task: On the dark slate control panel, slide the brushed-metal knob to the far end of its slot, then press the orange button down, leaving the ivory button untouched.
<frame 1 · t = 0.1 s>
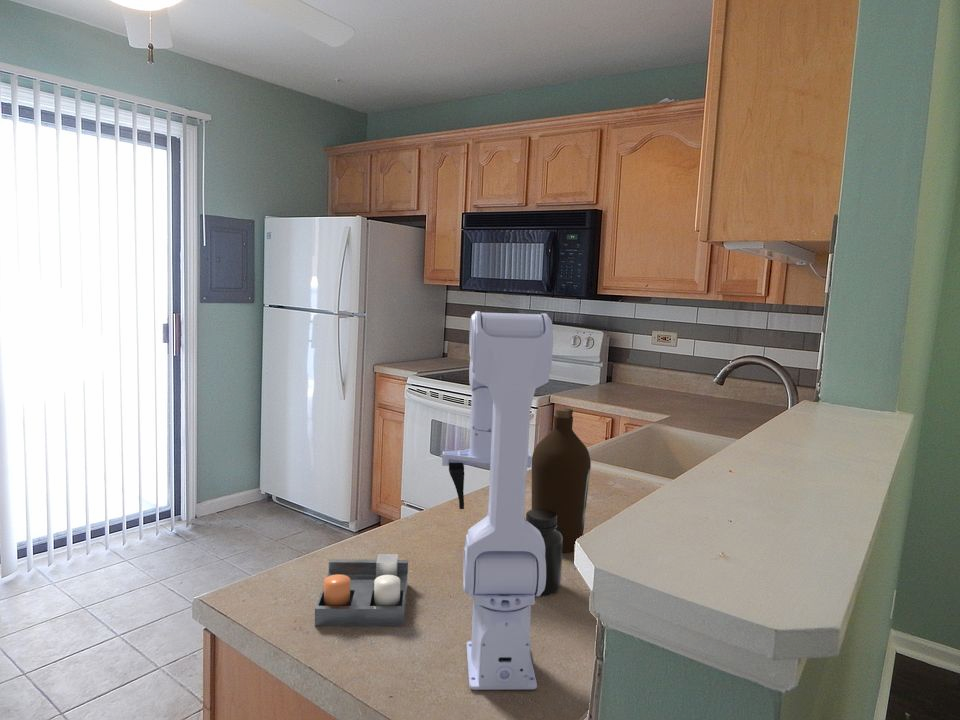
hand: (484, 507, 107), 10 cm above the table, tool pointing down, fingers open, 7 cm apart
panel: (364, 603, 94), on the table
supplement bottle: (538, 588, 102), on the table
ivory button: (387, 590, 91), point 4 cm above the table, slide at 0.0 cm
olive oil: (556, 543, 119), on the table
slider knob: (387, 568, 97), point 4 cm above the table, slide at 0.0 cm
orange button: (337, 590, 91), point 4 cm above the table, slide at 0.0 cm
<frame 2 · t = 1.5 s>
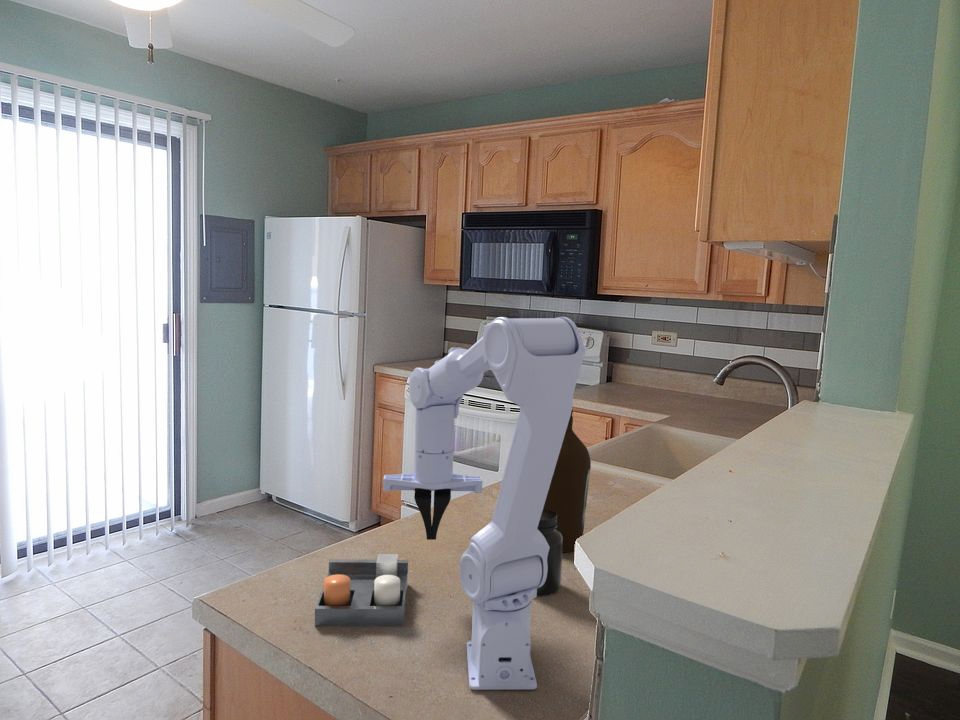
hand: (431, 537, 97), 9 cm above the table, tool pointing down, fingers closed
nothing on the table moved.
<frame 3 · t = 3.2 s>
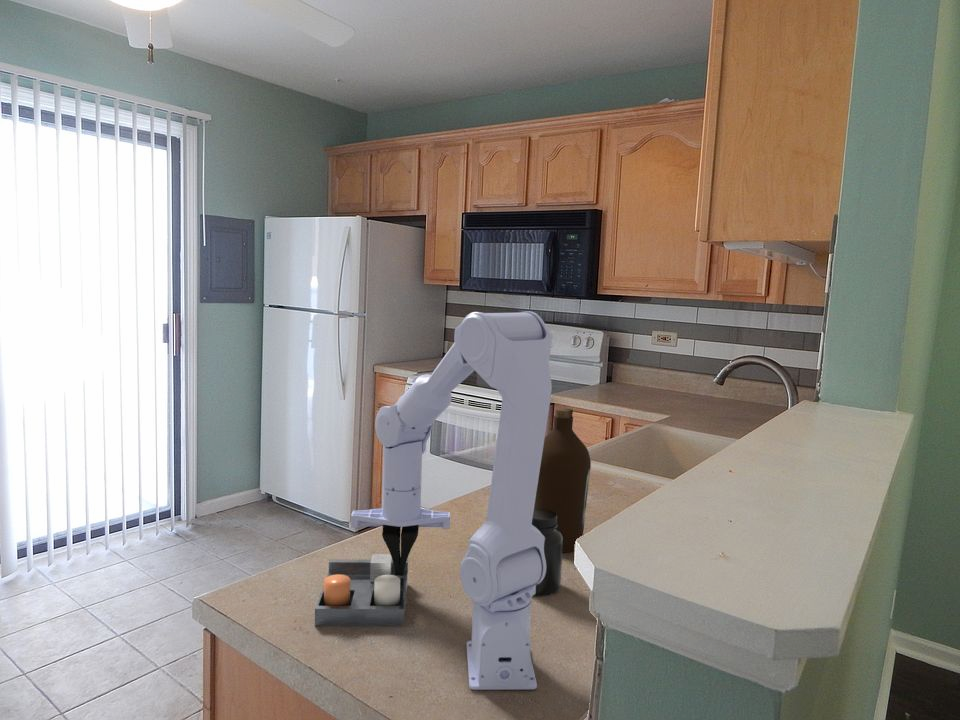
hand: (399, 572, 97), 3 cm above the table, tool pointing down, fingers closed
slider knob: (381, 567, 97), point 4 cm above the table, slide at 0.9 cm, touching gripper
everything else where it was.
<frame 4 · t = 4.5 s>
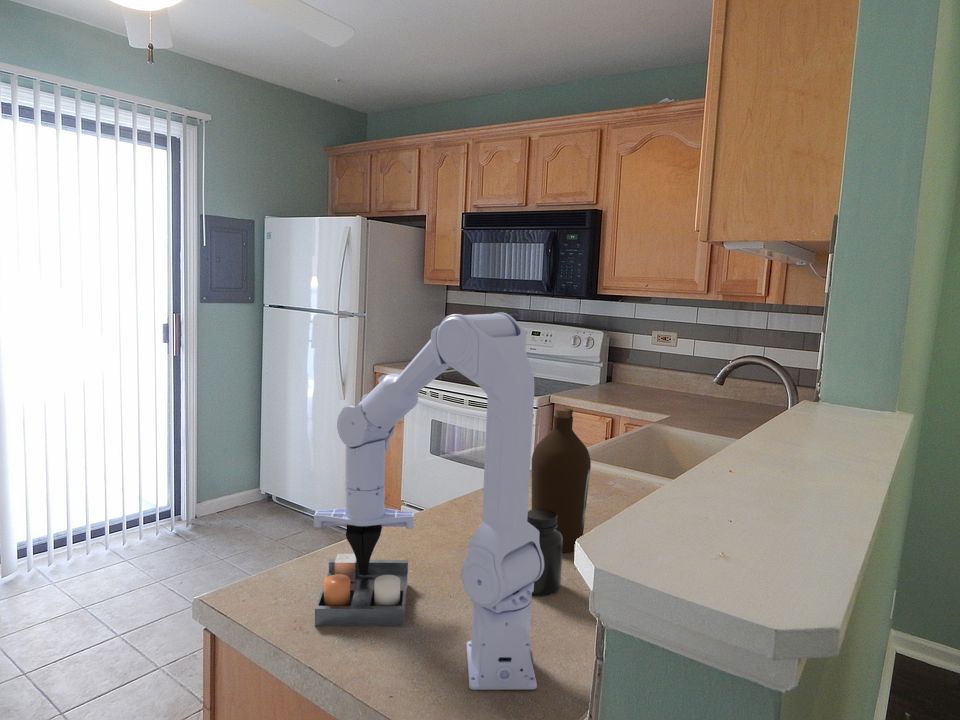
hand: (363, 572, 97), 3 cm above the table, tool pointing down, fingers closed
slider knob: (346, 567, 97), point 4 cm above the table, slide at 6.1 cm, touching gripper
everything else where it was.
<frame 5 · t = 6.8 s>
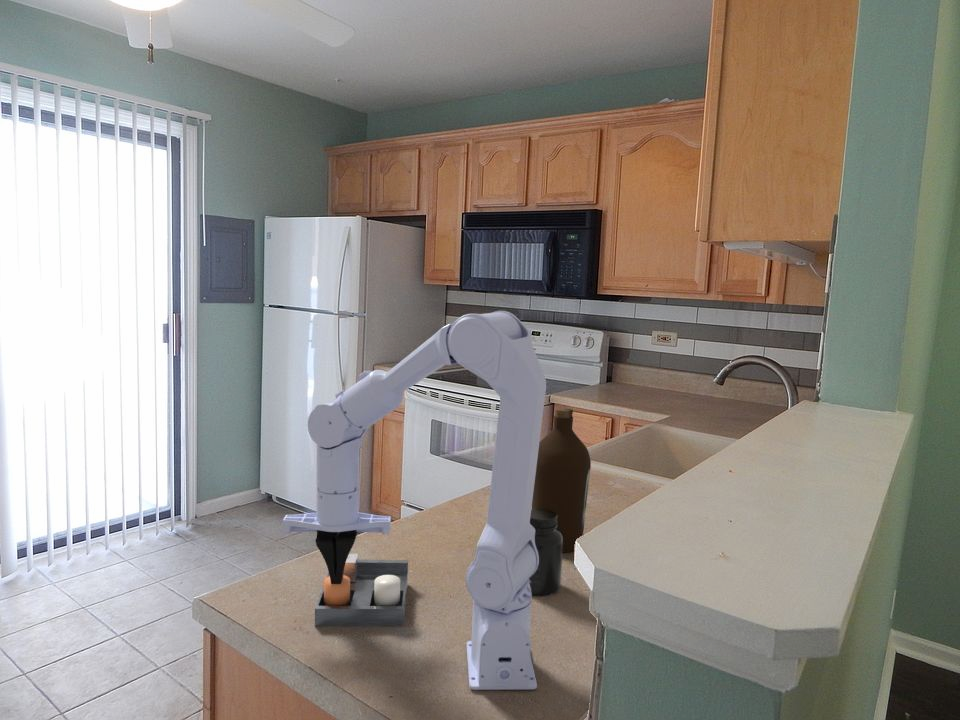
hand: (337, 580, 91), 5 cm above the table, tool pointing down, fingers closed, pressing on orange button
slider knob: (346, 567, 97), point 4 cm above the table, slide at 6.1 cm
orange button: (337, 590, 91), point 4 cm above the table, slide at 0.0 cm, touching gripper
everything else where it was.
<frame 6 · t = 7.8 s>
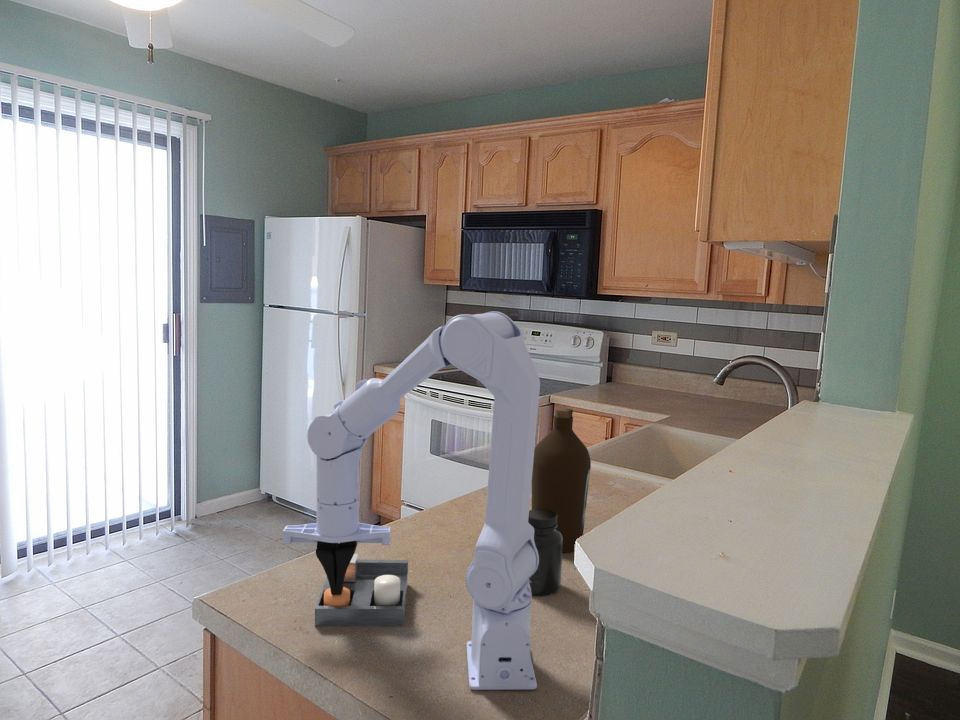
hand: (337, 591, 91), 3 cm above the table, tool pointing down, fingers closed
orange button: (336, 602, 91), point 2 cm above the table, slide at 1.8 cm
everything else where it was.
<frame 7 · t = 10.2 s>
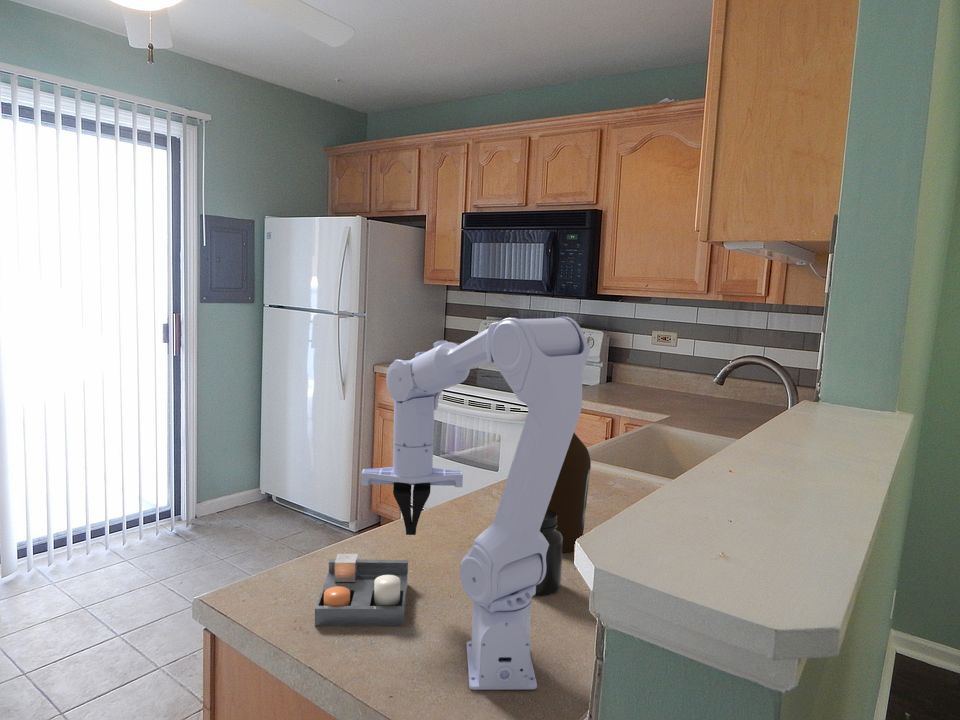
hand: (411, 532, 95), 10 cm above the table, tool pointing down, fingers closed
nothing on the table moved.
at the end: slider knob slide at 6.1 cm; orange button slide at 1.8 cm; ivory button slide at 0.0 cm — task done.
